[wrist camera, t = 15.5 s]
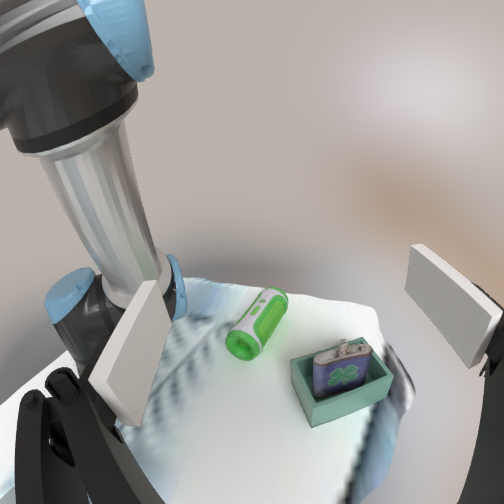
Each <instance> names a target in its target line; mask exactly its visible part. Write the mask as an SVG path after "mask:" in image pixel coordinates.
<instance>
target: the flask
mask: <svg viewBox="0 0 504 504" xmlns="http://www.w3.org/2000/svg"><path fill="white" fill-rule="evenodd" d="M341 341H342V342H343V341H346V339H342V340H341ZM338 343H339V341H338ZM347 343H348V342H344V343H340V346H339V348H336V349H332V350H329V351H326V352H323V353H321V354H318V355H316V356H315V357H314V359H313V384H312V395H313V396H314V398H320V399H321V398H326V397H328V396H333V395H338V394H341V393H342V392H345V391H346V392H348V391H350V390H354V389H356V388H359V387H361V386H363V385H365V384H364V383H365V379H366V376H367V372H368V368H369V364H370V360H371V356H372V352H373V349H372V347H371V346H370V345H368V344H356V345H348V344H347Z"/></svg>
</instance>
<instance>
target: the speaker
mask: <svg viewBox="0 0 504 504" xmlns="http://www.w3.org/2000/svg"><path fill="white" fill-rule="evenodd" d="M287 307H288V297H287V295H286V294H285V293H284V292H283V291H282V290H281V289H279V288H275V287H270V288H267V289H265V290H263V291H262V292H261V293H260V294H259V295H258V298H257V299H256V300H255V301H254V302H253V304H252V305H251V306H250V307H249V309H248V310H247V311H246V312H245V314H244V315H243V316H242V317H241V319H240V320H239V321H238V322H237V324H236V325H235V326H233V327H232V328H231V330H230V331H229V333H228V335H227V338H226V347H227V348H228V350H229V351H230V352H231V353H232V354H233V355H234V356H236V357H237V358H239V359H242V360H252V359H253V358H255V357H256V356H257V355H258V354H259V353H260V352H261V351H262V348H263V347H264V345H265V343H266V342H267V340H268V339H269V337H270V335H271V334H272V332H273V331H274V329H275V328H276V326H277V324H278V323H279V321H280V319H281V318H282V316H283V315H284V314H285V313H286V311H287Z"/></svg>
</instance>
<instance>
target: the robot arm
mask: <svg viewBox="0 0 504 504" xmlns="http://www.w3.org/2000/svg"><path fill="white" fill-rule="evenodd" d="M153 73H154V63H153V57H152V46H151V40H150V33H149V27H148V22H147V16H146V9H145V4H144V0H0V131H1V130H2V129H5V128H8V129H9V131H10V134H11V136H12V138H13V141H14V143H15V146H16V148H17V150H18V152H19V153H20V154H21V155H24V156H29V157H36V158H39V159H40V161H41V163H42V166H43V168H44V170H45V172H46V175H47V177H48V179H49V181H50V183H51V185H52V187H53V189H54V191H55V193H56V195H57V197H58V199H59V201H60V203H61V205H62V207H63V209H64V211H65V213H66V215H67V216H68V218H69V220H70V222H71V224H72V225H73V227H74V229H75V231H76V232H77V234H78V236H79V238H80V239H81V241H82V243H83V244H84V246H85V247H86V249H87V251H88V252H89V254H90V256H91V257H92V259H93V260H94V262H95V263H96V265H97V266H98V268H99V269H100V271H101V272H102V274H100V275H95V272H94V271H93V270H92V269H91V268H89V267H87V268H80V269H78V270H75V271H73V272H71V273H70V274H68V275H66V276H64V277H63V278H62V279H60V280H59V281H58V282H57V283H56V284H54V285H53V286H52V287H51V289H50V290H49V291H48V293H47V294H46V297H45V301H44V304H45V308H46V311H47V313H48V315H49V318H50V321H51V323H52V324H53V325H54V327H55V329H56V331H57V333H58V334H59V336H60V338H61V340H62V341H63V343H64V345H65V346H66V348H67V350H68V351H69V353H70V354H71V356H72V357H73V359H74V361H75V362H76V366H77V370H78V373H79V377H80V378H79V380H78V378H77V377H76V375H75V374H74V372H73V371H72V370H71V369H70V368H68V367H61V368H58V369H56V370H54V371H53V372H51V374H50V375H49V376H48V377H47V379H46V381H45V388H46V389H47V390H48V392H49V393H50V394H51V395H52V396H53V397H49V398H46V397H45V396H44V395H43V394H42V392H41V391H39V390H37V389H35V390H31V391H28V392H27V393H26V394H25V395H24V396H23V397H22V399H21V402H20V407H19V414H18V421H17V431H16V443H15V494H16V504H89V501H88V496H87V493H88V495H89V497H90V499H91V501H92V503H93V504H165V503H164V501H163V500H162V499H161V497H160V496H159V495H158V493H157V492H156V490H155V489H154V488H153V486H152V485H151V483H150V482H149V480H148V479H147V477H146V476H145V474H144V473H143V471H142V470H141V468H140V466H139V465H138V463H137V462H136V460H135V458H134V457H133V455H132V453H131V451H130V450H129V448H128V446H127V444H126V443H125V441H124V439H123V437H122V435H121V433H120V431H119V430H118V428H117V427H116V426H115V421H116V418H118V419H119V420H120V421H121V423H122V424H123V425H128V426H136V427H141V423H142V419H143V416H144V412H145V409H146V405H147V401H148V398H149V395H150V391H151V388H152V384H153V381H154V378H155V374H156V371H157V368H158V365H159V361H160V358H161V355H162V352H163V349H164V346H165V343H166V340H167V337H168V334H169V331H170V328H171V325H172V323H171V322H173V321H174V320H177V319H180V318H182V317H184V316H185V315H186V313H187V297H186V293H185V286H184V281H183V277H182V273H181V270H180V267H179V264H178V262H177V259H176V258H175V257H174V256H173V255H170V254H169V255H166V254H164V253H163V252H162V251H161V250H159V249H158V248H156V247H154V243H153V240H152V237H151V234H150V230H149V226H148V223H147V219H146V216H145V212H144V208H143V205H142V201H141V197H140V193H139V189H138V185H137V180H136V176H135V172H134V167H133V163H132V158H131V154H130V149H129V144H128V139H127V133H126V128H125V123H124V119H125V118H126V116H127V115H128V114H129V113H130V111H131V110H132V109H133V108H134V106H135V105H136V103H137V101H138V90H137V82H142V81H144V80H145V79H146V78H149V77H151V76H152V75H153ZM405 291H406V292H407V293H408V294H409V295H410V296H411V298H412V299H413V300H414V301H415V302H416V303H417V305H418V306H419V307H420V308H421V309H422V310H423V312H424V313H425V314H426V315H427V316H428V317H429V319H430V320H431V321H432V323H433V324H434V325H435V326H436V327H437V329H438V330H439V331H440V332H441V334H442V335H443V336H444V337H445V339H446V340H447V341H448V343H449V344H450V345H451V346H452V348H453V349H454V350H455V352H456V353H457V354H458V356H459V357H460V358H461V360H462V361H463V363H464V364H465V365H466V367H467V368H468V369H470V368H472V367H473V366H475V365H477V364H479V363H480V362H481V360H482V358H483V356H484V354H485V353H486V354H487V355H488V359H487V361H486V363H485V364H484V366H483V368H482V370H481V372H480V374H479V376H481V375H482V374H483V372H484V371H485V375H484V377H485V385H484V396H483V405H482V412H481V419H480V425H479V430H478V436H477V441H476V445H475V449H474V454H473V458H472V461H471V465H470V469H469V472H468V475H467V479H466V482H465V485H464V488H463V491H462V493H461V496H460V499H459V501H458V503H457V504H504V308H502V307H501V306H500V305H499V304H498V303H497V302H496V301H495V300H494V299H492V298H490V296H489V295H488V294H487V293H485V291H484V290H483V289H481V288H480V287H479V286H478V285H476V284H474V283H472V282H470V281H468V280H467V279H466V278H465V277H464V276H462V275H461V274H460V273H459V272H458V271H456V270H455V269H454V268H453V267H452V266H450V265H449V264H448V263H446V262H445V261H444V260H443V259H441V258H440V257H439V256H437V255H436V254H435V253H433V252H432V251H431V250H430V249H428V248H427V247H425V246H424V245H423V244H416V245H411V247H410V256H409V265H408V272H407V279H406V285H405ZM49 439H50V444H49Z"/></svg>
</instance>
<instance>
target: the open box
mask: <svg viewBox="0 0 504 504" xmlns="http://www.w3.org/2000/svg"><path fill="white" fill-rule="evenodd" d="M347 344H348V345H356V344H368V343H367V342H366V340H365V339H364V338H363V337H360V338H358V339H355V340H352V341H349V342H348V343H347ZM368 345H369V344H368ZM339 346H340V345H338V346H335V347H332V348H329V349H326V350H323V351H319V352H316V353H313V354H310V355H306V356H303V357H300V358H296V359H293V360H290V362H291V379H292V384H293V386H294V389H295V391H296V393H297V396H298V398H299V400H300V403H301V405H302V407H303V410H304V412H305V414H306V416H307V419H308V421H309V423H310V426H311V428H313V427H316V426H318V425H321V424H324V423H327V422H330V421H333V420H335V419H338V418H340V417H343V416H346V415H348V414H351V413H353V412H355V411H358V410H360V409H362V408H365V407H367V406H369V405H371V404H374V403H376V402H378V401H380V400H382V399H384V398H386V396H387V393H388V391H389V388H390V385H391V382H392V380H393V377H394V375H393V374H392V373H391V372H390V370H389V369H388V368H387V367H386V365H385V364H384V363H383V362H382V360H381V359H380V358H379V357H378V355H377V354H376V353H375V352H374V350H373V352H372V356H371V360H370V364H369V368H368V372H367V376H366V379H365V383H364V384H365V385H363V386H361V387H359V388H356V389H354V390H350V391H348V392H346V391H345V392H342V393H341V394H338V395H333V396H328V397H326V398H321V399H320V398H314V396H313V395H312V384H313V359H314V357H315V356H316V355H318V354H321V353H323V352H326V351H329V350H332V349H336V348H339Z"/></svg>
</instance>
